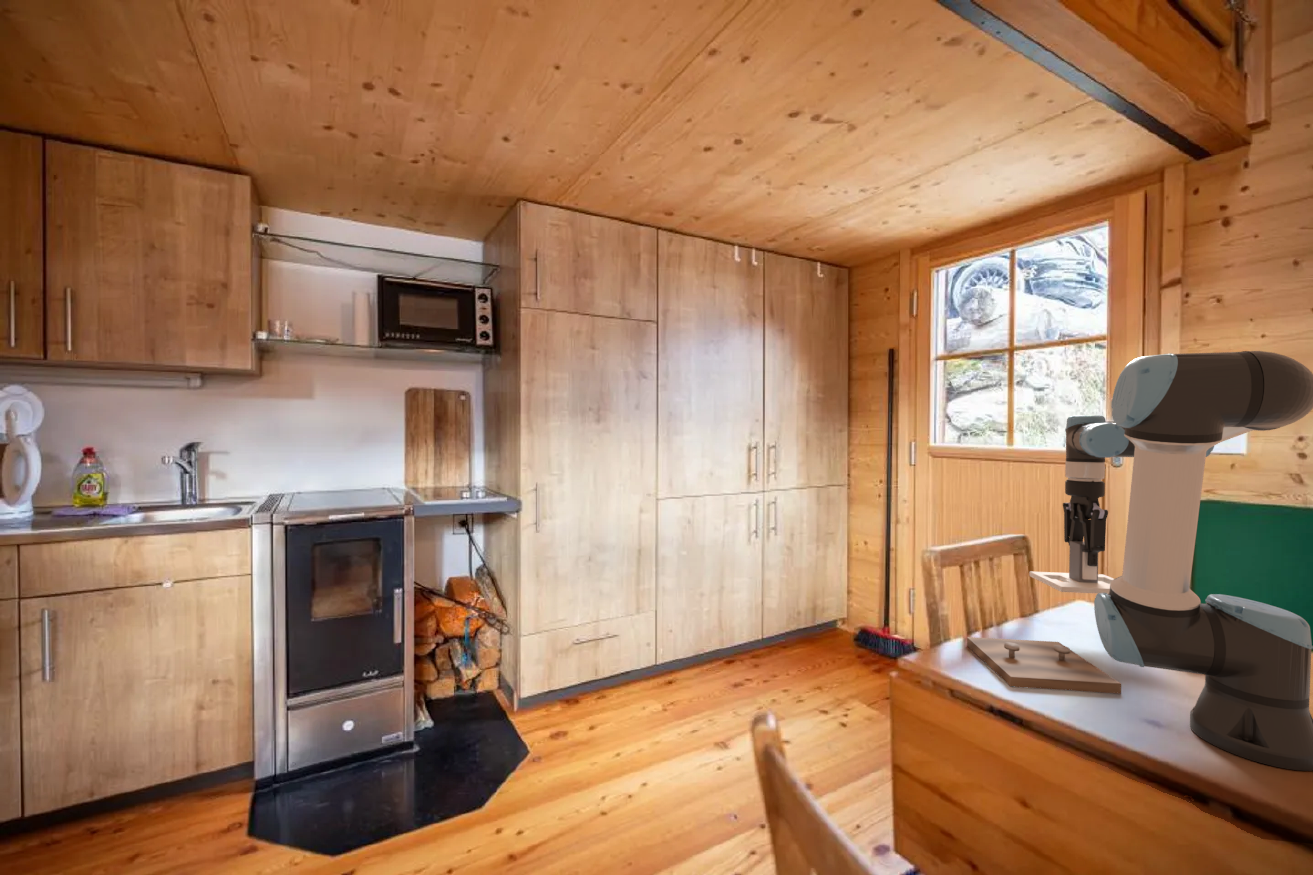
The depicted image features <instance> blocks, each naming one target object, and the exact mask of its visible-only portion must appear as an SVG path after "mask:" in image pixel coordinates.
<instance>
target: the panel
mask: <svg viewBox="0 0 1313 875" xmlns="http://www.w3.org/2000/svg"><path fill="white" fill-rule="evenodd" d="M1082 549H1085V543H1084V541H1083V542H1082V541H1070V546H1069V556H1068V557H1069V558H1068V559H1069V560H1068V561H1069V562H1068V563H1069V565H1068V566H1069V568H1068V570H1069V571H1068V572H1056V571H1055V572H1053V571H1051V572H1049V571H1032V570H1030V571H1029V576H1028V577H1030V578H1032V579H1035V580H1036V581H1039V582H1041V583H1043V584H1044V585H1046V586H1049V587H1051V588H1052V589H1055V590H1056V591H1059V592H1061V593H1078V594H1079V593H1080V594H1096V595H1097V594H1099V593H1107V594H1109V591H1110V583H1111V581H1112V580H1114V579H1115V578H1113V577H1111V576H1108V575H1106V574H1101V573H1099V553H1098V554H1097V580H1088V579H1082V554H1083V551H1082Z"/></svg>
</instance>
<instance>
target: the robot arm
mask: <svg viewBox="0 0 1313 875" xmlns="http://www.w3.org/2000/svg"><path fill="white" fill-rule="evenodd" d="M1111 409H1112V412H1111V417H1112V420H1113V422H1107V420H1106V417H1105V416H1103V415H1097V414H1096V415H1087V414H1086V415H1083V414H1082V415H1071V416H1068V417H1067V418H1066V423H1065V424H1066V426H1065V429H1064V432H1065V462H1064V464H1065V465H1064V466H1065V469H1064V473H1065V475H1064V476H1065V477H1066V478H1067V479H1066V480H1065V481H1064V482H1065V484H1064V490H1065V491H1064V493H1065V495H1067V496H1070V497H1071V498H1070V500H1069V502H1063V503H1062V508H1063V513H1064V514H1063V515H1064V516H1063V518H1064V519H1063V522H1064V524H1063V529H1064V530H1063V532H1064V535H1063V536H1064V539H1063V540H1064V542H1065V543H1068V546H1069V547H1070V541H1082V542H1084V543H1085V549H1082V551H1083V554H1082V579H1088V580H1097V554H1098V555H1099V553H1100V552H1105V551H1106V536H1107V535H1106V531H1107V529H1106V528H1107V527H1106V526H1107V519H1108V515H1109V510H1108V509H1102V508H1101V506H1100V505H1101V504H1100V502H1099V498H1104V497H1105V495H1106V494H1105V493H1106V492H1105V491H1106V488H1105V487H1106V483H1105V482H1104V481H1103V480H1104V479H1105V478H1106V477H1105V476H1106V475H1105V472H1106V471H1105V470H1106V465H1105V464H1106V463H1105V462H1106V458H1133V463H1132V464H1133V466H1132V471H1131V473H1132V474H1131V484H1130V494H1129V502H1128V503H1129V504H1128V511H1127V512H1128V514H1127V522H1126V523H1127V524H1126V534H1125V544H1124V545H1125V546H1124V554H1123V562H1122V563H1123V565H1122V574H1121V575H1120V576H1118V577H1115V578H1114V580H1112V581H1111V583H1110V591H1109V594H1107V593H1099V594H1097V593H1096V595H1095V598H1094V600H1093V602H1094V603H1093V604H1094V608H1093V609H1094V618H1095V623H1096V628H1097V631H1098V635H1099V638H1100V640H1101V643H1102V646H1103V648H1104V649H1105V652H1106V653H1107V654H1108V655H1109V657H1110V658H1112V659H1113V660H1114V661H1117V662H1119V663H1124V664H1130V665H1136V666H1138V667H1141V668H1145V667H1148V668H1154V669H1155V668H1156V669H1161V670H1168V671H1170V670H1171V671H1175V672H1183V673H1184V672H1185V673H1191V674H1198V675H1204V678H1205V679H1204V680H1205V681H1204V686H1203V687H1202V690H1201V692H1200V694H1199V695H1198V698H1197V700H1196V703H1195V705H1194V706H1193V707H1192V708H1191V710H1190V713H1189V727H1190V729H1191V731H1192V732H1194V734H1196V735H1197V736H1198V737H1199V738H1201V739H1202V740H1204V741H1205V742H1207V743H1209V744H1211V745H1213V746H1214V747H1217V748H1219V749H1221V750H1223V751H1226V752H1227V753H1230V754H1233V755H1235V756H1239V757H1241V758H1244V759H1247V760H1250V761H1253V762H1257V763H1260V764H1263V765H1267V766H1272V767H1276V768H1280V769H1281V768H1282V769H1285V770H1286V769H1287V770H1293V771H1306V772H1310V771H1311V772H1312V771H1313V716H1312V714H1311V712H1310V698H1311V697H1310V696H1311V695H1310V694H1311V693H1310V692H1311V673H1312V672H1311V671H1312V670H1311V666H1312V650H1313V645H1312V644H1313V642H1312V633H1311V626H1310V624H1309V623H1308V621H1306V619H1304V617H1302V616H1300V615H1298V614H1296V613H1294V612H1291V611H1290V610H1287V609H1284V608H1281V607H1277V606H1274V605H1270V604H1268V603H1264V602H1260V601H1256V600H1252V599H1248V598H1243V597H1240V596H1235V595H1227V594H1221V593H1219V594H1217V593H1215V594H1214V593H1213V594H1212V593H1210V594H1209V595H1207V597H1206V598H1205V603H1202V602H1201V599H1200V597H1199V596H1198V594H1196V593H1195V592H1194V591H1193V590H1192V589H1191V588H1190V585H1191V577H1192V570H1193V563H1194V554H1195V547H1196V546H1195V545H1196V538H1197V530H1198V523H1199V522H1198V521H1199V514H1200V507H1201V505H1200V504H1201V498H1202V497H1201V496H1202V489H1203V482H1204V473H1205V466H1206V458H1208V457H1209V456H1210V455H1211V453H1212V452H1213V450H1214V448H1215V446H1216V445H1218V444H1220V443H1223V442H1225V441H1229V440H1231V439H1233V438H1236V437H1238V436H1241V435H1244V434H1247V433H1250V432H1252V431H1260V432H1264V431H1267V432H1268V431H1272V430H1273V431H1274V430H1277V429H1280V428H1282V427H1286V426H1288V425H1291V424H1293V423H1296V422H1298V421H1300V420H1301V419H1303V418H1304V417H1306V416H1307V415H1308V414H1310V412H1311V411H1312V410H1313V372H1312V371H1311V370H1310V369H1309V368H1308V367H1307V366H1306V365H1305V364H1303V363H1302V362H1300V361H1298V360H1296V359H1295V358H1292V357H1289V356H1287V355H1283V354H1280V353H1277V352H1272V351H1271V352H1270V351H1262V350H1245V351H1243V350H1242V351H1230V352H1229V351H1226V352H1223V351H1222V352H1192V353H1191V352H1190V353H1173V352H1171V353H1170V352H1169V353H1163V354H1151V355H1144V356H1140V357H1137V358H1134V359H1133V360H1131V361H1129V363H1127V364H1126V365H1125V367H1123V370H1122V371H1121V372H1120V375H1119V376H1118V378H1117V381H1116V384H1115V386H1114V390H1113V394H1112V400H1111Z"/></svg>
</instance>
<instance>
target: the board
mask: <svg viewBox="0 0 1313 875" xmlns="http://www.w3.org/2000/svg"><path fill="white" fill-rule="evenodd" d="M966 646H967V647H968V648H969V649H970V650H972V652H974V653H975V655H977V657H979V658H980V659H981V660H982V661H983V662H984V663H985V662H986V663H987V664H986V663H985V664H986V665H987V666H988V665H989V666H990V667H991V668H990V667H989V666H988V667H989V668H990V669H991V670H992V671H993V672H994V673H996V674H997V675H998V676H999V677H1000V678H1001V679H1002V680H1003V681H1004V682H1005V683H1006V684H1007V683H1008V684H1007V685H1009V687H1011V686H1015V687H1014V688H1024V687H1028V689H1039V690H1040V689H1042V690H1056V691H1057V690H1058V691H1075V692H1088V693H1105V694H1118V695H1119V694H1120V695H1121V694H1122V683H1121V682H1120V681H1119V680H1117V679H1115V678H1114V677H1113V676H1111V675H1110V674H1107V673H1106V672H1105V671H1103V670H1102V669H1100V668H1099V667H1097V666H1096V665H1094V664H1092V663H1091V662H1090V661H1088V660H1087V659H1085V658H1083V657H1082V656H1080V655H1079V654H1077V653H1076V652H1075V651H1073V650H1071V648H1069V647H1068V646H1066V645H1064V644H1062V643H1061V642H1060V641H1050V640H1049V641H1046V640H1029V639H1014V638H1013V639H1012V638H1011V639H1010V638H1009V639H1008V638H995V637H990V638H989V637H973V636H966Z"/></svg>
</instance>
